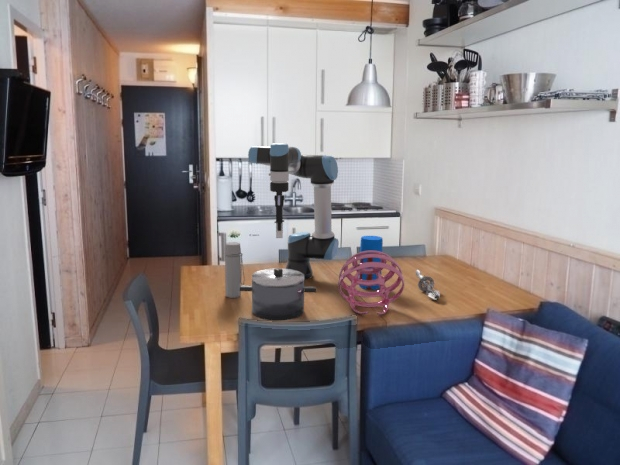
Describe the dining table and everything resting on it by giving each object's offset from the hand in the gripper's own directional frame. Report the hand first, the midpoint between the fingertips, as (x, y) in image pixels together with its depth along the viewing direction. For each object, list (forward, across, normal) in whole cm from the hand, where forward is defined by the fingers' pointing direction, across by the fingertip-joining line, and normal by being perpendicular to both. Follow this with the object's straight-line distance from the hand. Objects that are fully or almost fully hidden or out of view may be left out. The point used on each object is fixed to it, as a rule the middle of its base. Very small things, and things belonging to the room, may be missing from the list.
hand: (279, 237), depth 216 cm
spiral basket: (+32, -1, +39) cm, 51 cm away
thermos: (+33, -36, +44) cm, 66 cm away
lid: (+18, +2, 0) cm, 18 cm away
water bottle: (+32, -18, -21) cm, 42 cm away
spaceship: (+34, -29, +70) cm, 83 cm away
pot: (+32, +3, -1) cm, 32 cm away
